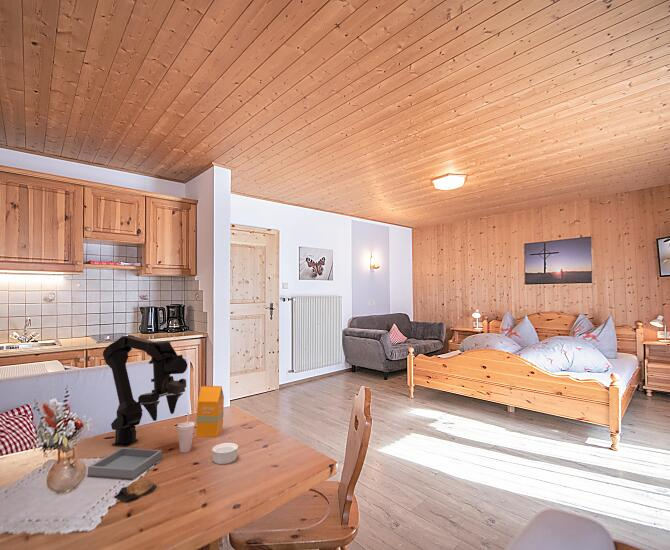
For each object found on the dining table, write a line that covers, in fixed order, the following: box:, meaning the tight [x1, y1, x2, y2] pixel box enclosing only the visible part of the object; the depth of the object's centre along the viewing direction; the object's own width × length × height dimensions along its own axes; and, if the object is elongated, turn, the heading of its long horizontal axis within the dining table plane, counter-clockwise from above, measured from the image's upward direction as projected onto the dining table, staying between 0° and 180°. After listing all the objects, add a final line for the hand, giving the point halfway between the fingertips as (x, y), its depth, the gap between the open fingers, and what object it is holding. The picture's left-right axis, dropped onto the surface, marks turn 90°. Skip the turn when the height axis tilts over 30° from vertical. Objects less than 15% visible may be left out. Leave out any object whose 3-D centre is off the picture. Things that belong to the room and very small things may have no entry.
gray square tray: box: [87, 447, 163, 481], centre depth 123 cm, size 16×16×3 cm
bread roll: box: [113, 478, 161, 504], centre depth 108 cm, size 11×8×4 cm
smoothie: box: [176, 412, 196, 454], centre depth 138 cm, size 6×6×14 cm
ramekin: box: [211, 442, 239, 465], centre depth 131 cm, size 9×9×4 cm
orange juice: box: [195, 385, 225, 438], centre depth 156 cm, size 8×9×20 cm
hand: (163, 417), depth 137 cm, fingers open, 9 cm apart
